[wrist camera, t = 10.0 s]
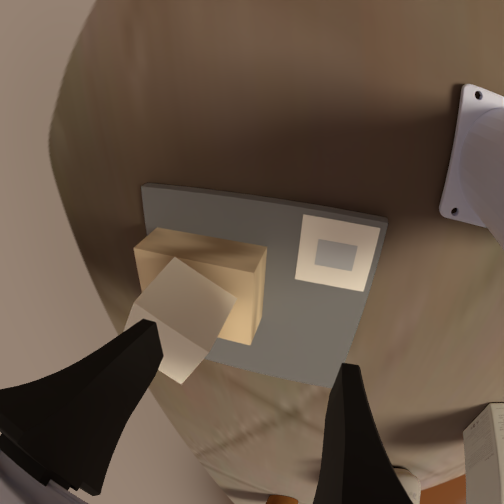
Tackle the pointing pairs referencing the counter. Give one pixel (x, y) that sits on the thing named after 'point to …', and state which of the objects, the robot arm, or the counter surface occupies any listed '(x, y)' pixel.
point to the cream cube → (183, 316)
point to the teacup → (409, 484)
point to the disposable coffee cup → (281, 500)
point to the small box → (485, 456)
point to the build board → (285, 273)
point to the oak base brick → (212, 272)
